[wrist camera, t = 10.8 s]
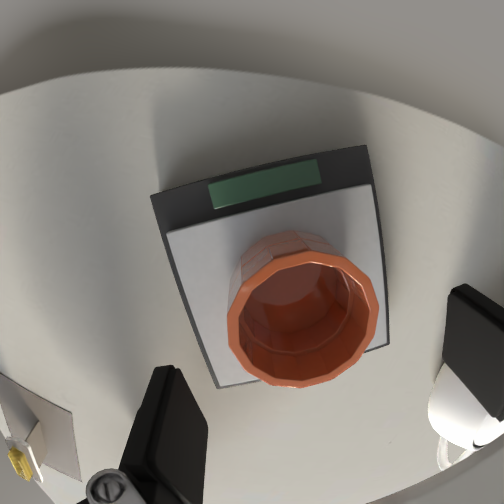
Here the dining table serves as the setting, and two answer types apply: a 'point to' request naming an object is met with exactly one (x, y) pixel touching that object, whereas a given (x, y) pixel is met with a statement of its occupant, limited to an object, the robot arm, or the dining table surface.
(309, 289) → the dip bowl
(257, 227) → the scale
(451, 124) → the dining table surface
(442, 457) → the teapot
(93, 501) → the robot arm
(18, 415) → the platform
